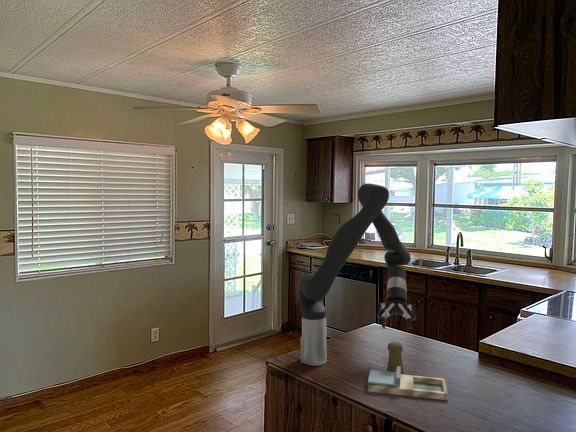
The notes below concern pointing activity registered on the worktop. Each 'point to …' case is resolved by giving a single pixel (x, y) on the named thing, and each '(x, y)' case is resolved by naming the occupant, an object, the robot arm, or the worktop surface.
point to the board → (415, 387)
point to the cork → (395, 357)
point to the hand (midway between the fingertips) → (395, 328)
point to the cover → (385, 377)
